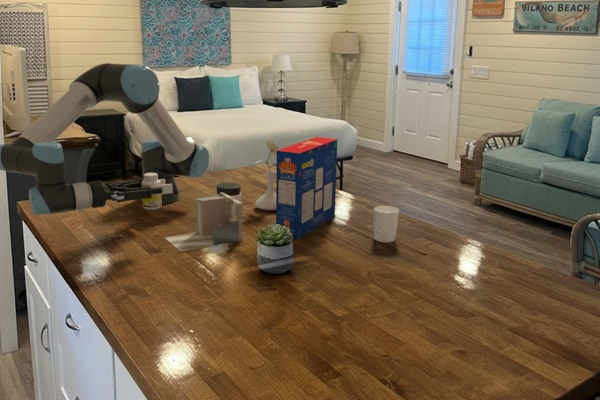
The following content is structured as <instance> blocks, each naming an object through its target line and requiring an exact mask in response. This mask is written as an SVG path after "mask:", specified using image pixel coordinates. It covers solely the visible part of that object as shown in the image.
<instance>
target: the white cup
mask: <svg viewBox="0 0 600 400" xmlns="http://www.w3.org/2000/svg"><path fill="white" fill-rule="evenodd" d="M399 212H400V209H399V208H398V207H395V206H391V205H390V206H389V205H378V206H375V207H374V208H373V240H375V241H376V242H380V243H392V242H395V240H396V234H397V229H398V221H399V214H400V213H399Z"/></svg>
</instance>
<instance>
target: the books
mask: <svg viewBox="0 0 600 400" xmlns="http://www.w3.org/2000/svg"><path fill="white" fill-rule="evenodd" d="M195 202H196V203H195V205H196V207H195V208H196V210H195V211H196V232H198V233H199V234H200V235H202V236H203V237H204V236H210V235H213V225H219V224H225V223H227V221H226V197H221V196H216V195H214V196H209V197H208V196H207V197H202V198H201V197H199V198H196V199H195Z"/></svg>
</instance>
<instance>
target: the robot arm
mask: <svg viewBox="0 0 600 400" xmlns="http://www.w3.org/2000/svg"><path fill="white" fill-rule="evenodd" d="M159 82H160V81H159V78H158V76H157V74H156V73H155V72H154V70H153V69H152V68H150V67H148V66H145V65H140V64H136V63H135V64H133V63H132V64H128V63H126V64H125V63H124V64H123V63H110V62H109V63H108V62H107V63H106V62H105V63H100V64H98V65H94V66H93V67H91V68H89V69H88V70H85V72H83V73H81V74H80V75H79V76H77V78H75V79H74V80H73V81H72V82H71V83H70V84H69V86H68V91H67V92H65V93H64V94H63V95H62V96H61V97H60V98H58V100H56V101H55V103H54V104H52V105H51V106H50V107H49V108H48V109H47V110H46V111H45V112H44V113H43V114H42V115H40V117H38V118H37V119H36V120H35V121H34V122H33V123H32V124H30V126H29V127H28V128H26V129H25V130H24V131H23V132H22V133H21V134H20V135H19V136H18V137H16V139H14V140H13V141H12V142H11V143H10V144H9V143H5V144H4V143H3V144H0V171H3V172H6V173H13V174H21V175H28V176H34V177H35V183H36V184H35V186H34V187H31V188H30V189H29V190H28V200H29V206H30V211H31V212H32V214H34V215H35V216H38V215H39V216H40V215H52V214H57V213H65V212H66V213H67V212H72V211H74V212H75V211H78V212H82V210H89V209H90V208H92V209H98V208H104V207H106V204H107V201H113V202H115V201H116V202H117V203H122V202H128V201H129V202H130V201H136V200H139V202H141V203H143V199H147V198H150V199H152V195H160V194H161V198H162V205H164V204H170V203H173V202H177V201H178V200H180V191H179V189H178V186H177V183H176V180H175V176H180V177H186V178H192V179H194V178H197V179H199V178H201V177H203V176H204V175H205V174H206V172H207V171H208V167H209V163H210V153H209V149H208V148H207V147H205V146H203V145H197V144H196V142H195V141H194V139H192V137H190V136H188V135H185V134H184V132H183V131H182V130H181V128H180V127H179V126H178V124H177V123H176V122H175V120H174V119H173V118H172V116H171V115H170V113H169V112H168V111H167V109H166V108H165V106H164V105H163V104H162V102H161V100H160V99H159V96H160V95H159V94H160V88H161V87H160V84H159ZM107 101H108V102H119V103H121V104H122V105H123V107H124V108H125V109H126V110H127V111H128V112H129V113H130V114H135V115H137V116H138V118H139V119H140V120H141V122H142V123H143V124H144V125H145V126H146V128H147V129H148V130H149V132H150V133H151V134H152V135H153V137H154V138H153V139H148V140H144V141H143V142H142V143H141V146H140V148H141V149H140V150H141V151H140V155H141V156H140V157H141V169H142V178H139V179H136V180H128V181H127V180H126V181H120V182H119V181H118V182H106V183H105V185H104V182H103V181H102V180H95V181H88V183H87V182H86V181H85V182H84V181H83V182H77V183H67V182H66V170H65V169H66V167H65V165H66V164H65V156H64V152H63V151H64V150H63V146H62V144H61V143H60V142H57V141H56V140H57V139H58V138H59V137H60V136H62V134H63V133H64V132H65V131H66V130H67V129H68V128H69V127H70V126H71V125H72V124H74V122H75V121H76V120H77V119H78V118H79V117H81V115H82V114H84V113H85V112H86V111H87V110H88V109H92V108H94V107H95V106H97V104H99V103H102V102H107ZM146 173H157V174H158V180H160V181H161V185H155V186H150V187H147V188H142V181H143V180H144V174H146Z"/></svg>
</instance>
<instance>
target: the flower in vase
mask: <svg viewBox="0 0 600 400" xmlns="http://www.w3.org/2000/svg"><path fill="white" fill-rule="evenodd" d="M266 146H267V148H268V150H269V151H270V152H269V155H268V158H267V160H265V163H264V164H265V165H267V166H268V170H265V171H263V174H265V175H264V176H265V177H266V181H267V190H266V192H265V193H264V194H262V195H261V196H260V197H258V199H257V200H256V201H255V202H254V205H255V207H256V208H258V209H260V210H263V211H276V192H275V188H274V187H275V186H274V185H275V184H274V183H275V178H276V170H271V169H270V168H272V167H274V166H276V164H275V163H274V164H272V165H269V164H270V163H269V160H270V156H272V155H273V156H274V157H275V158H277V150H279V147H278V146H277V145H276V143H275V142H274V141H271V140H270V139H268V140H267V141H266ZM271 154H272V155H271Z"/></svg>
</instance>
